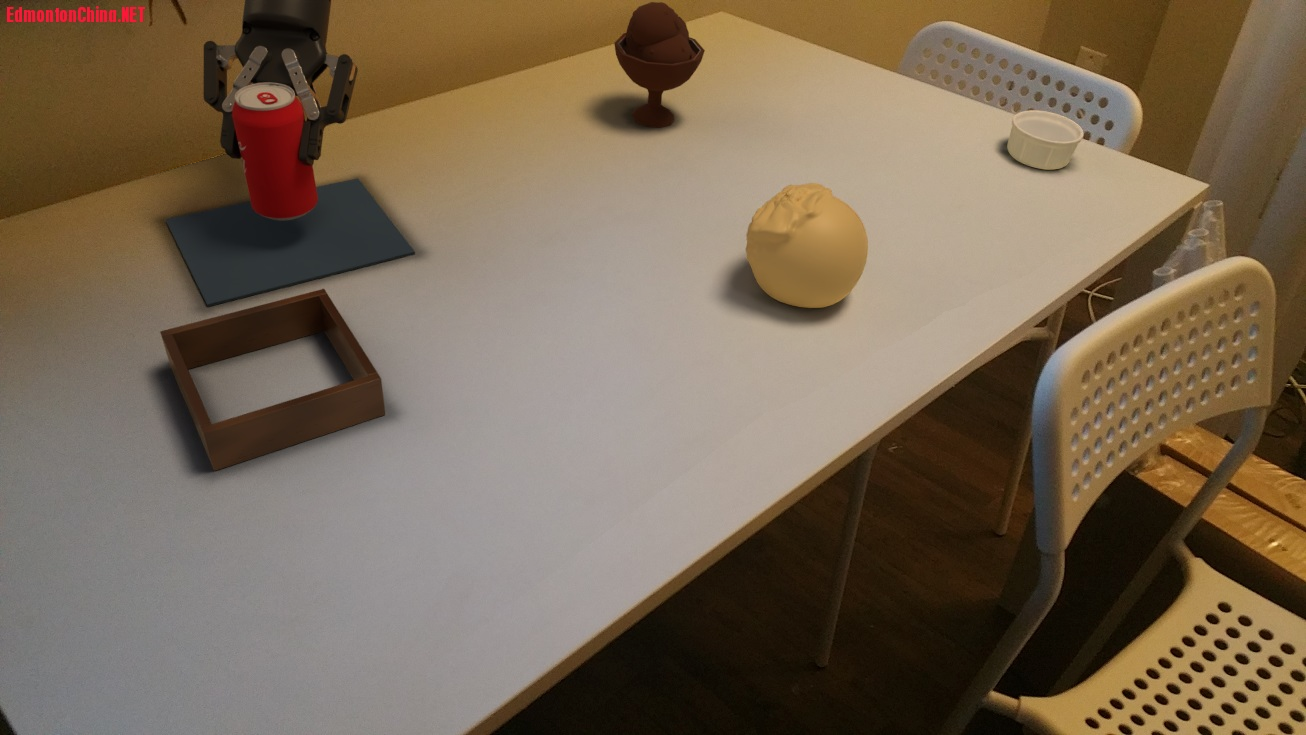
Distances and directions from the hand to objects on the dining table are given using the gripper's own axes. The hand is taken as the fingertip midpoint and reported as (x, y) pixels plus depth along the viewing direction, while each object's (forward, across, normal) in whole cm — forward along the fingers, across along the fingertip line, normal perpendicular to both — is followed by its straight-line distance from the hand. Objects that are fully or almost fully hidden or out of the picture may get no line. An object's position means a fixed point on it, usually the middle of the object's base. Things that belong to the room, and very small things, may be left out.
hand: (269, 159), depth 92 cm
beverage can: (+3, 0, +6) cm, 7 cm away
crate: (+22, +6, -8) cm, 24 cm away
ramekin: (-18, +86, +33) cm, 94 cm away
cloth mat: (+6, 0, +8) cm, 10 cm away
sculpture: (+6, +52, +8) cm, 53 cm away
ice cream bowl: (-18, +36, +33) cm, 52 cm away
